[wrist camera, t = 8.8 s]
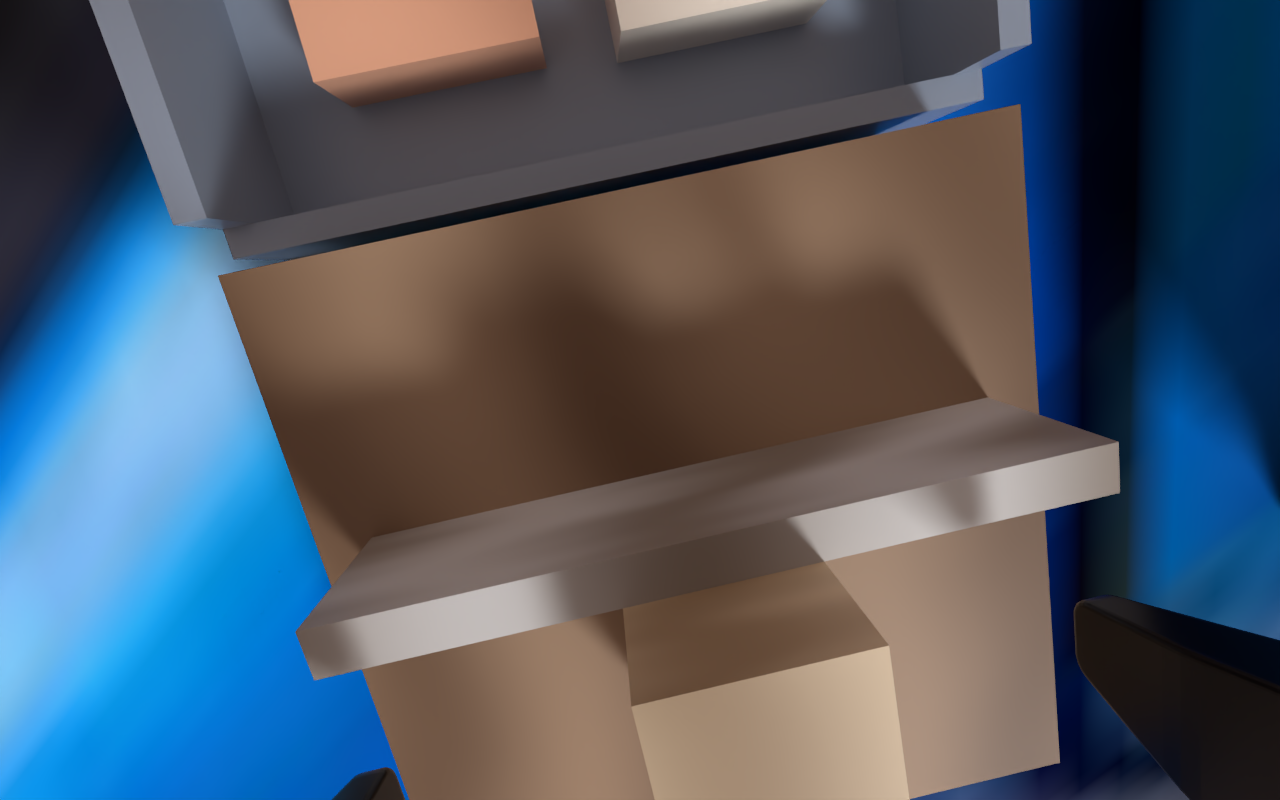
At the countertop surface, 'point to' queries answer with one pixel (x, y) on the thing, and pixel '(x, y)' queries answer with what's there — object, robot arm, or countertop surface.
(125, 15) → the box
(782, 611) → the scraper
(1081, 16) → the countertop surface
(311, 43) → the tile terracotta
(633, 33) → the tile cream
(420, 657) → the brown square tray
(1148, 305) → the countertop surface
